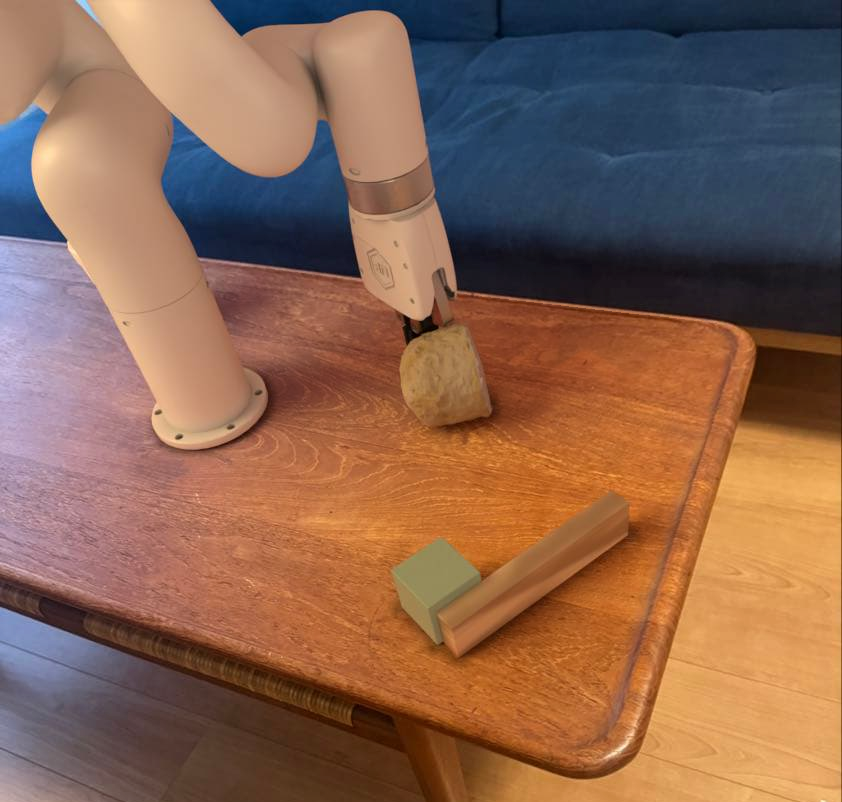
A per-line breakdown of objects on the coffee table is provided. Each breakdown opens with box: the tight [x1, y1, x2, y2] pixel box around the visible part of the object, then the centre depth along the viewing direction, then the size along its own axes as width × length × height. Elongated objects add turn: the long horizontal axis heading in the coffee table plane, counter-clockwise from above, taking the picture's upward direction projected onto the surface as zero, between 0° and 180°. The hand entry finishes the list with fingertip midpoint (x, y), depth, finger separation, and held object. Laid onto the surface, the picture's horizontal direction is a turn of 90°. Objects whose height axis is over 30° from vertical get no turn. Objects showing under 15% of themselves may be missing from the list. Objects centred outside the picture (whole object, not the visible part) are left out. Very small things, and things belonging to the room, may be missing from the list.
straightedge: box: [436, 489, 631, 658], centre depth 65 cm, size 2×18×4 cm, turn 126°
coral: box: [398, 321, 493, 428], centre depth 78 cm, size 10×10×10 cm
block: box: [390, 536, 483, 646], centre depth 64 cm, size 5×5×5 cm
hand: (426, 354), depth 84 cm, fingers closed
